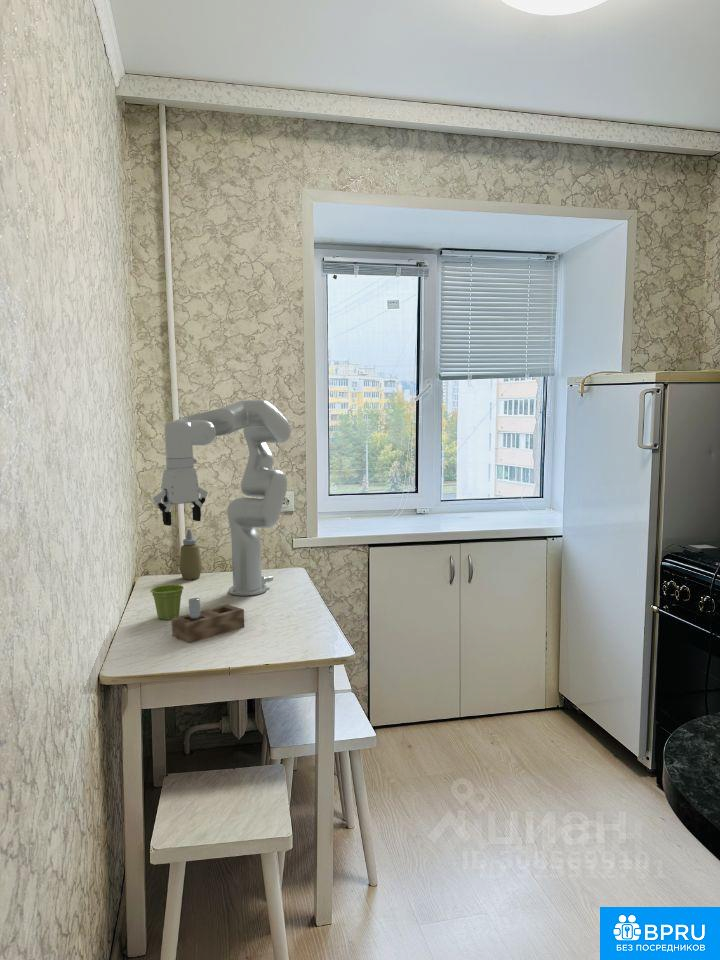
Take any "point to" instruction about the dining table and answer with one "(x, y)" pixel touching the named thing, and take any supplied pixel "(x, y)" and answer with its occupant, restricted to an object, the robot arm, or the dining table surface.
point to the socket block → (208, 623)
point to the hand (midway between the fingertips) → (182, 522)
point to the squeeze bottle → (190, 558)
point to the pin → (194, 609)
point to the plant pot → (167, 600)
